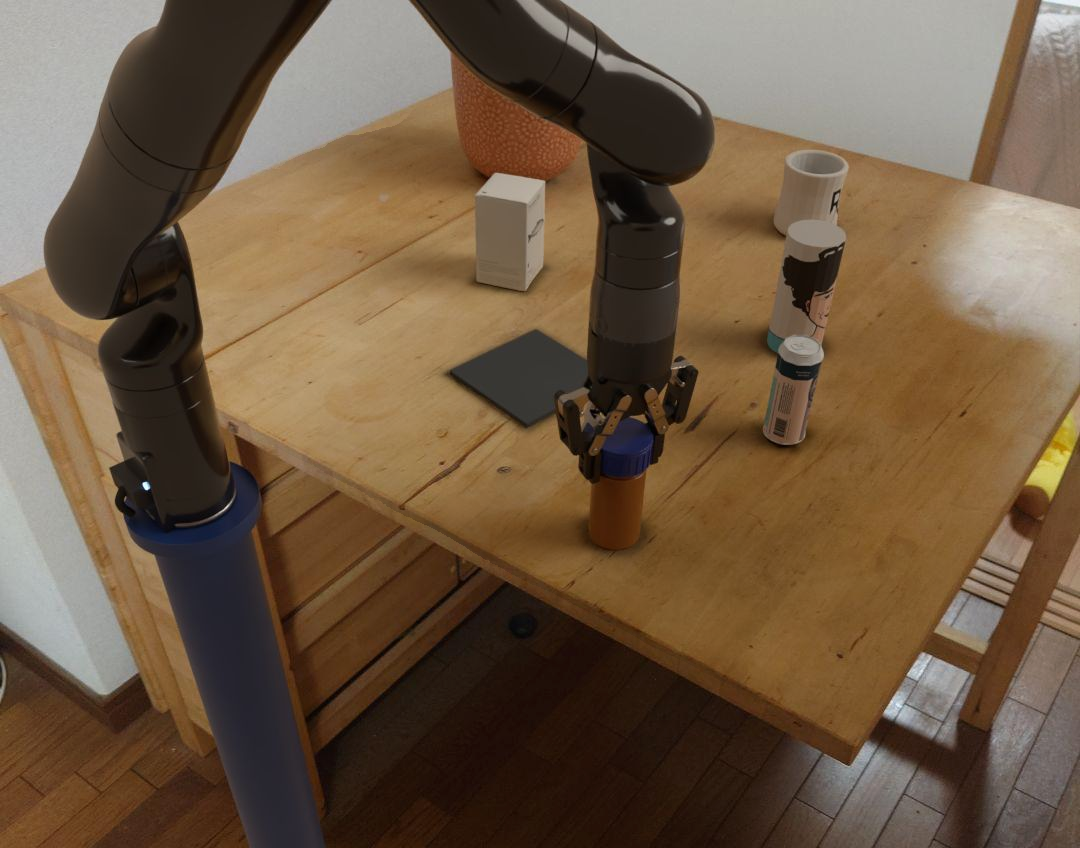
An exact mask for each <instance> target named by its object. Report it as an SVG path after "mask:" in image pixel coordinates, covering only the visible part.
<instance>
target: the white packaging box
mask: <svg viewBox="0 0 1080 848" xmlns="http://www.w3.org/2000/svg"><path fill="white" fill-rule="evenodd" d="M545 204H546V181H543V180H538V179H532V178H526V177H520V176H514V175H508V174H501V173H494V174H493V175H492V177H491V178H488V180H486V182H485V183H484V184H483V185H482V186H481V187H480V188H479V189H478V191H477V192H476V193H474V222H475V223H474V226H475V230H474V231H475V232H474V233H475V268H476V269H475V275H476V277H475V279H476V280H475V281H476V282H477V283H480V284H485V285H491V286H494V287H500V288H504V289H509V290H515V291H519V292H525V291H527V290H528V288H529V286H530V285H531V284H532V282H533V281H534V279H535V278H536V276H537V275H538V274H539V272H540V271H541V270H542V269H543V268H544V253H545V217H546V215H545V214H546V205H545Z"/></svg>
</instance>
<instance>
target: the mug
mask: <svg viewBox="0 0 1080 848" xmlns="http://www.w3.org/2000/svg"><path fill="white" fill-rule="evenodd" d="M783 165H784V167H783V179H782V186H781V190H780V195H779V197H778V202H777V204H776V208H775V212H774V214H773V215H774V216H773V226H774V227H775V229H776V230H777V231H778V232H779V233H780V234H782V235H783V236H785V237H786V236H787V230H788V228H789V226H790V225H791V224H793V223H795V222H797V221H801V220H821V221H826V222H830V223H832V224H835V225H837V224H838V215H839V206H840V200H841V197H842V196H841V195H842V190H843V187H844V184H845V181H846V178H847V175H848V173H849V169H850V168H849V163H848V162H847V160H846V159H844V158H843V157H842V156H840V155H838V154H836V153H834V152H830V151H826V150H820V149H802V150H796V151H793V152H790V153H789V154H788V155H787V156H785V158H784V164H783ZM837 226H838V225H837Z"/></svg>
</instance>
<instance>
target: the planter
mask: <svg viewBox="0 0 1080 848" xmlns="http://www.w3.org/2000/svg"><path fill="white" fill-rule="evenodd" d="M449 53H450V69H451V70H450V71H451V82H452V93H453V102H454V111H455V121H456V127H457V132H458V136H459V142H460V145H461V149H462V151H463V154H464V156H465V157H466V159H467V161H468V162H469V163H470V164H471V166H473V168H475V170H477V171H478V172H479V173H480V174H482V175H483V176H484V177H487V178H488V179H490V178H491V177H492V175H493V174H494V173H501V174H508V175H514V176H520V177H526V178H532V179H538V180H543V181H545V182H547V181H550V180H552V179H554V178H555V177H557V176H559V175H560V174H562V173H563V172H565V170H566V169H568V168H569V166H571V164H572V163H573V162H574V161H575V159H576V157H577V156H578V153H579V151H580V148H581V145H582V141H583V140H582V139H580V138H579V137H577V136H576V135H574V134H572V133H570V132H568V131H567V130H565V129H563V128H561V127H558V126H556V125H554V124H552V123H550V122H547V121H545V120H543V119H541V118H539V117H538V116H536V115H534V114H532V113H531V112H529V111H527V110H525V109H524V108H522V107H520V106H519V105H517V104H515V103H513V102H512V101H510V100H508V99H506V98H504V97H503V96H501V95H499V94H498V93H496V92H495V91H493V90H492V89H490V88H489V87H487V86H486V85H485V84H483V83H482V82H481V81H480V80H478V79H477V78H476V77H475V76H473V75H472V74H471V73H470V72H469V71H468V70H467V69H466V68H465V67H464V66H463V65H462V64H461V63H460V62H459V61H458V60H457V59H456V57H455V56H454V55H453V54H452V53H451V52H450V51H449Z"/></svg>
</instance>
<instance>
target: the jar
mask: <svg viewBox="0 0 1080 848" xmlns="http://www.w3.org/2000/svg"><path fill="white" fill-rule="evenodd" d="M647 470H648V468H647V469H646V470H645V471H644V472H642V473H640V474H638V475H635V476H632V477H613V476H609V475H606V474H604V473H602V472H600V482H597V483H594V484H591V483H590V484H591V485H590V500H589V512H588V513H589V515H588V530H587V532H588V536H589V538H590V539H591V541H592V542H593V543H594V544H595V545H597V546H599V548H603V549H606V550H612V551H620V550H625V549H628V548H630V547H632V546H634V545H635V544H636V543H637V542H638V540H639V538H640V535H641V534H640V533H641V526H642V514H643V505H644V498H645V489H646V481H647V480H646V479H647V472H648V471H647Z"/></svg>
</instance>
